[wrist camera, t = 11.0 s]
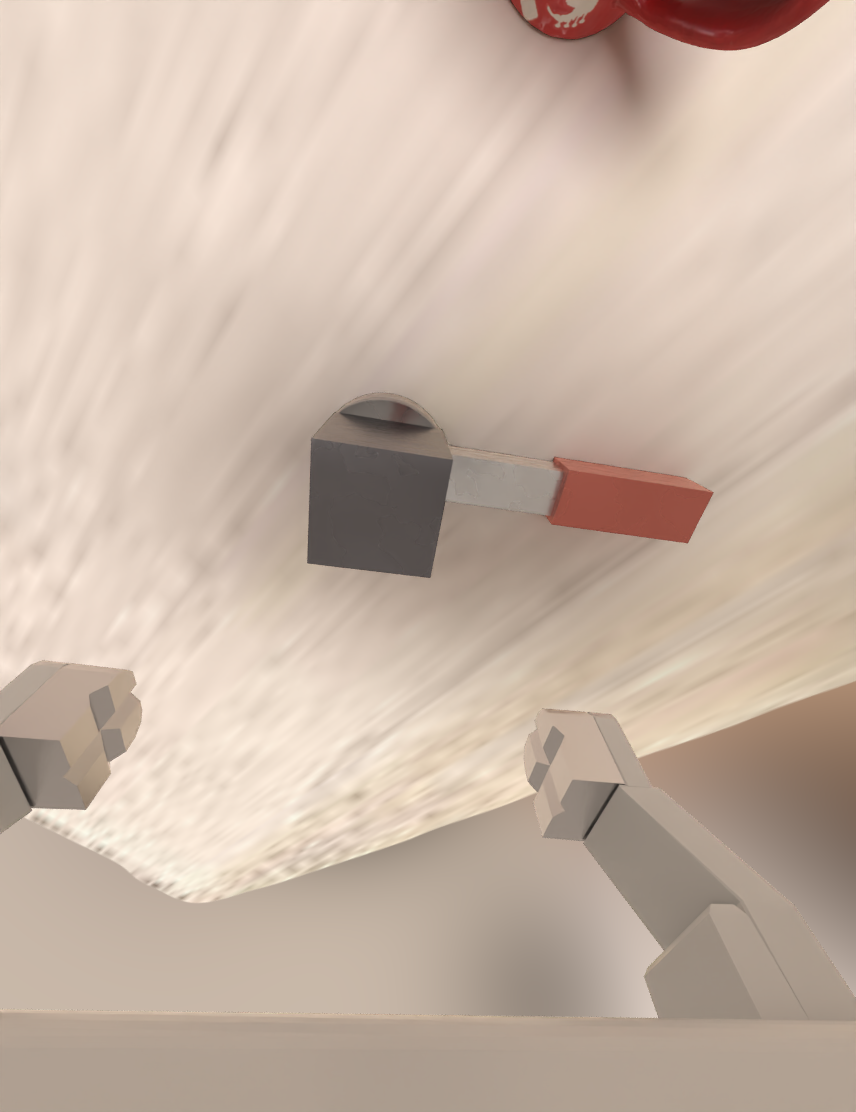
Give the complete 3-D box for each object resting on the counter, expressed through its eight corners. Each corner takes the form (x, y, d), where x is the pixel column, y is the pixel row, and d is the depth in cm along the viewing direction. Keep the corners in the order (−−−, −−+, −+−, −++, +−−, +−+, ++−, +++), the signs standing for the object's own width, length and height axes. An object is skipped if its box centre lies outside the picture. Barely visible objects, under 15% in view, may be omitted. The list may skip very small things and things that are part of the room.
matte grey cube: (442, 429, 22) (453, 460, 17) (425, 525, 25) (430, 577, 19) (335, 411, 21) (311, 438, 16) (329, 512, 24) (307, 563, 19)
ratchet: (700, 445, 26) (800, 484, 19) (651, 551, 30) (721, 614, 23) (324, 382, 23) (291, 401, 17) (318, 507, 27) (290, 563, 20)
